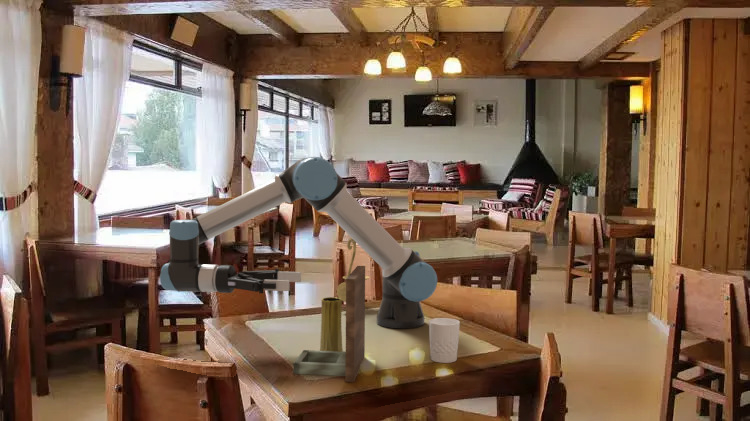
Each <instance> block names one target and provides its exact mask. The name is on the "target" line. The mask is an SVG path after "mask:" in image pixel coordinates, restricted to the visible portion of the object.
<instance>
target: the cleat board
mask: <svg viewBox="0 0 750 421" xmlns="http://www.w3.org/2000/svg"><path fill="white" fill-rule="evenodd" d="M365 276H366V265H357V266H356V267H355V268H354V269H353V270H352V271H351V273H350V275H349V276H348V277H347V278H346V280H345V282H346V302H345V351H342V352H341V351H320V350H312V349H310V350H309V349H303V350H302V352H301V353H300V354H299V356H298V357H297V358H296V360H295V361H294V362H293V364H292V366H293V368H292V369H293V373H292V374H294V375H298V374H299V375H311V376H312V375H317V376H318V375H319V376H335V377H336V376H338V377H339V376H340V377H344V378H345V383H355V381H356V378H357V376H358V374H359V371H360V369H361V366H362V364H363V362H364V359H365V354H366V352H365V351H366V350H365V348H366V347H365V346H366V345H365V343H366V342H365V341H366V340H365V339H366V337H365V335H366V334H365V333H366V332H365V331H366V330H365V329H366V328H365V327H366V324H365V323H366V280H365Z"/></svg>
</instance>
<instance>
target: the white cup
mask: <svg viewBox="0 0 750 421" xmlns="http://www.w3.org/2000/svg"><path fill="white" fill-rule="evenodd" d="M460 323H461V322H460V320H458V319H455V318H449V317H435V318H432V319H428V327H429V328H428V333H429V334H428V335H429V350H430V359H431V361H432V362H436V363H439V364H441V363H442V364H449V363H450V364H451V363H454V362H456V361H457V360H458V349H459V342H460V341H459V340H460V325H461V324H460Z"/></svg>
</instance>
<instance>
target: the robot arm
mask: <svg viewBox="0 0 750 421" xmlns="http://www.w3.org/2000/svg"><path fill="white" fill-rule="evenodd" d="M347 187H348V186H347V182H346V181H345V180H344V179H343V178H342V176H340V175H339V174H338V173H337V171H336V169H335V168H334V166H333V164H332V163H330V161H328V160H327V159H325V158H322V157H320V156H308V157H305V158H301V159H299V160H297V161H296V162H294V163H293V164H292V165H290V166H289V167H287V168H285V169H284V170H283V171H280V172H279V173H276V174H275V177H274V178H273V179H272V180H269V181H268V182H265V183H263V184H262V185H259V186H257V187H255V188H253V189H251V190H249V191H247V192H245V193H243V194H240V195H239V196H237V197H235V198H233V199H230V200H229V201H226V202H225V203H223V204H220V205H218V206H216V207H214V208H212V209H210V210H208V211H206V212H203V213H202V214H199V215H198V216H196V217H195V218H191V219H176V220H175V219H174V220H172V221H170V224H169V234H168V235H169V256H170V257H169V262H168V263H165V264H163V265H162V266H161V269H160V274H159V282H160V285H161V288H163V289H164V290H166V291H172V292H173V291H174V292H178V293H180V292H190V293H191V292H194V293H195V292H199V293H200V292H201V293H205V292H206V294H207V295H210V294H211V293H217V292H218V293H220V294H222V293H223V294H225V293H226V294H231V293H233V292H234V290H235V289H236V290H242V291H250V292H255V293H259V294H264V291H268V292H271V291H272V292H276V291H277V292H290V289H291V288H290V286H291V285H290V283H301V282H302V271H300V272H299V271H280V270H279V268H275V269H273V270H271V269H270V270H253V271H252V270H249V271H248V270H244V271H240V272H236V267H235V266H234V265H232V264H231V265H230V264H220V265H219V264H213V263H212V264H210V263H208V264H207V263H206V264H204V263H203V264H201V263H199V245H202V244H203V243H206V242H207V241H208V240H211V239H213V238H215V237H217V236H218V235H221V234H222V233H223V234H224V233H225V232H227V231H228V230H231V229H233V228H235V227H238V226H239V225H241V224H244V223H245V222H247V221H249V220H251V219H254V218H255V217H257V216H258V217H259V215H262V214H264V213H265V212H269V211H270V210H271V209H274V208H276V207H278V206H279V205H282V204H284V203H289V204H292V203H293V202H296V201H298V200H301V199H304V200H306V202H307V203H308V204H309V205H310V206H311V207H312V208H313V209H315V210H316V211H317V213H320V212H321V213H323V212H324V213H326V214H327V215H328V216H329V217H330V218H331V219H332V220H333V221H334V223H335V222H336V224H337V225H338V226H339V227H340V228H341V229H342V231H345V233H346V234H347V235H348V236H349V237H350V238H352V239H353V240H354V241H355V242H356V245H358V246H359V247H360V249H362V250H363V251H364V252H365V253H366V254H367V255H368V256H369V257H370V258H371V259H373V261H374V262H375V263H377V265H378V266H379V267H380V268H381V274H382V299H381V302H380V306H379V309H378V311H377V316H376V324H377V325H379V326H381V327H384V328H392V329H412V328H413V329H414V328H419V327H422V326H424V324H425V315H424V311H423V308H422V305H421V302H422V301H426V300H427V299H429V298H430V297H431V296H432V295H433V294H434V293H435V292H436V288H437V285H438V275H437V273H436V271H435V269H434V267H433V266H432V265H430V264H428V262H425V261H424V260H423V259H422V258H421V257H420V252H419V251H414V250H413V249H412V248H411V247H403V246H402V245H401V244H400V243H399V242H398V241H397V240H396V239H395V238H394V237H393V236H392V235H391V234H390V233H389V232H388V231H387V230H386V229H385V228H384V226H382V225H381V224H380V223H379V221H377V220H376V219H375V218H374V217H373V216H372V215H371V213H370V212H368V211H367V210H366V209H365V208H364V207H363V206H362V205H361V203H360V202H359V201H358V200H356V198H354V196H352V195H351V193H350V192H348V189H347Z"/></svg>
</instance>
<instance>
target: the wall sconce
mask: <svg viewBox="0 0 750 421" xmlns="http://www.w3.org/2000/svg"><path fill="white" fill-rule="evenodd" d="M351 242H352V245H351ZM347 249H348V250H350V251H351V250H352V254H351V258H350V263H349V266H348V270H347V275H344V276H342V279H343V280H345V281H344V282H341V283H339V284H338V285H337V288H336V296H337V298H341V302H345V303H346V278H347V277H348V276H349V275H350V274H351V273H352V268H353V264H354V261H355V257H356V253H357V252H356V251H357V243H356V242H355V241H354V240H353V239H352V238H351V237H350V238H349V239H348V240H347ZM369 279H370V276H368V275H365V281H366V280H369Z"/></svg>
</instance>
